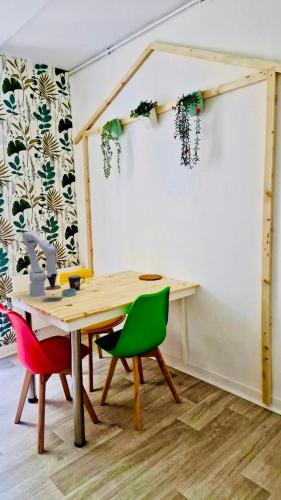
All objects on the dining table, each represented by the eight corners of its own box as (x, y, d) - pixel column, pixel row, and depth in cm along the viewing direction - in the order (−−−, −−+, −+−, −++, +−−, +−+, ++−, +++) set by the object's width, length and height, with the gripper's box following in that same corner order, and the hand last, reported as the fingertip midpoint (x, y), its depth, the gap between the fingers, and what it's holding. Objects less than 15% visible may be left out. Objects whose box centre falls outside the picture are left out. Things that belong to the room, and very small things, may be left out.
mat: (41, 302, 210) (41, 302, 210) (45, 298, 220) (45, 297, 220) (60, 301, 211) (60, 301, 211) (63, 297, 220) (63, 297, 220)
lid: (43, 290, 210) (42, 282, 210) (47, 287, 220) (46, 279, 220) (58, 289, 210) (58, 281, 210) (62, 286, 220) (61, 278, 220)
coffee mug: (68, 292, 235) (67, 278, 234) (69, 289, 244) (68, 275, 242) (85, 290, 237) (84, 276, 236) (85, 287, 246) (84, 274, 245)
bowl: (61, 297, 221) (60, 292, 220) (63, 294, 230) (63, 289, 229) (74, 296, 221) (74, 291, 221) (77, 293, 230) (76, 288, 230)
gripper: (54, 266, 206) (56, 288, 208) (59, 262, 220) (61, 282, 222) (43, 266, 206) (45, 288, 208) (49, 263, 220) (50, 283, 222)
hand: (52, 285), depth 215 cm, fingers closed on lid, 3 cm apart
